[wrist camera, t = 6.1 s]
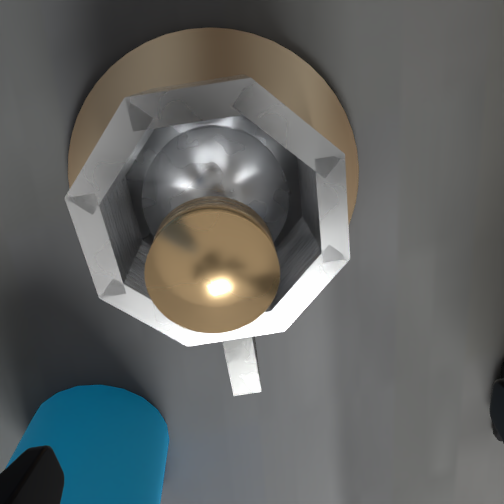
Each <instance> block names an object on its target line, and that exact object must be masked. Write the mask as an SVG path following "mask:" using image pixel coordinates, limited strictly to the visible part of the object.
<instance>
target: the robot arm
mask: <svg viewBox="0 0 504 504" xmlns="http://www.w3.org/2000/svg"><path fill="white" fill-rule="evenodd" d="M490 416H491V419H492V422H493V424H494V428H493V434H494V435H495V437H496V438H497V439H498V440H499V441H503V443H504V362H503V365H502V371H501V378H500V379H497V380H495V382H494V383H493V388H492V396H491V403H490ZM63 488H64V473H63V470H62V468H61V466H60V463H59V461H58V459H57V457H56V455H55V453H54V451H53V449H52V448H51V447H50V446H47V445H44V446H38V447H31V448H28V449H27V450H25V451H24V452H23V453H22V454H21V455H20V456H19V457H18V458H17V459H16V460H15V461H13V462H12V463H11V464H10V465H9V466H8V467H7V468H6V469H5V470H4V471H3V472H2V473H1V474H0V504H60V502H61V497H62V492H63Z"/></svg>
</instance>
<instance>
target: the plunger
mask: <svg viewBox="0 0 504 504" xmlns="http://www.w3.org/2000/svg"><path fill="white" fill-rule="evenodd" d="M142 207H143V212H144V216H145V219H146V222H147V225H148V227H149V229H150V231H151V232H152V234H153V235H154V237H155V238H154V240H153V243H152V245H151V248H150V250H149V253H148V255H147V259H146V263H145V271H144V275H145V284H146V288H147V291H148V294H149V296H150V298H151V300H152V302H153V303H154V305H155V306H156V307H157V309H158V310H159V311H160V312H161V313H162V314H163V315H164V316H165V317H166V318H168V319H169V320H170V321H172V322H173V323H175V324H177V325H179V326H181V327H183V328H185V329H188V330H191V331H195V332H200V333H225V332H230V331H234V330H237V329H240V328H242V327H244V326H246V325H248V324H250V323H252V322H253V321H255V320H256V319H257V318H259V317H260V316H261V315H262V314H263V313H264V312H265V311H266V310H267V309H268V307H269V306H270V305H271V303H272V301H273V300H274V298H275V295H276V293H277V290H278V287H279V282H280V266H279V261H278V257H277V253H276V250H275V246H274V241H275V240H276V239H277V237H278V236H279V234H280V232H281V231H282V229H283V226H284V224H285V221H286V218H287V214H288V209H289V190H288V185H287V181H286V178H285V175H284V172H283V170H282V168H281V166H280V164H279V162H278V161H277V159H276V158H275V156H274V155H273V153H272V152H271V151H270V150H269V149H268V148H267V146H266V145H264V144H263V143H262V142H261V141H260V140H259V139H257V138H256V137H254V136H253V135H251V134H249V133H247V132H245V131H243V130H240V129H237V128H234V127H229V126H224V125H206V126H200V127H196V128H192V129H190V130H187V131H184V132H183V133H181V134H179V135H177V136H175V137H174V138H173V139H171V140H170V141H169V142H168V143H167V144H166V145H165V146H164V147H163V148H162V149H161V150H160V151H159V153H158V154H157V155H156V157H155V158H154V159H153V161H152V163H151V164H150V166H149V168H148V170H147V173H146V175H145V178H144V183H143V187H142Z"/></svg>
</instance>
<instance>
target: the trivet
mask: <svg viewBox="0 0 504 504" xmlns="http://www.w3.org/2000/svg"><path fill="white" fill-rule="evenodd" d="M242 74H244V75H246V76H248V77H251V78H252V79H253V80H255V81H256V82H257V83H258V84H260V85H261V86H262V87H263V88H264V89H266V90H267V91H268V92H269V93H271V94H272V95H273V96H274V97H275V98H277V99H278V100H279V101H280V102H282V103H283V104H284V105H285V106H287V107H288V108H289V109H290V110H291V111H293V112H294V113H295V114H296V115H298V116H299V117H300V118H301V119H303V120H304V121H305V122H306V123H307V124H309V125H310V126H311V127H312V128H314V129H315V130H316V131H317V132H319V133H320V134H321V135H322V136H323V137H325V138H326V139H327V140H328V141H330V142H331V143H332V144H333V145H335V146H336V147H337V148H338V149H339V150H341V151H342V152H343V153H344V154H345V165H346V186H347V207H348V225H349V223H350V220H351V217H352V213H353V210H354V207H355V203H356V197H357V190H358V176H359V165H358V156H357V148H356V144H355V139H354V135H353V131H352V128H351V126H350V123H349V121H348V118H347V116H346V113H345V111H344V109H343V107H342V106H341V104H340V102H339V100H338V98H337V97H336V95H335V94H334V92H333V91H332V90H331V88H330V87H329V86H328V84H327V83H326V82H325V80H324V79H323V78H322V77H321V76H320V75H319V74H318V73H317V72H316V71H315V70H314V69H313V68H312V67H311V66H310V65H309V64H308V63H306V62H305V61H304V60H302V59H301V58H300V57H298V56H297V55H296V54H295V53H293V52H292V51H290V50H288V49H286V48H285V47H283V46H281V45H279V44H277V43H275V42H274V41H271V40H269V39H266V38H263V37H261V36H258V35H255V34H253V33H248V32H243V31H239V30H234V29H226V28H211V27H208V28H196V29H186V30H182V31H178V32H173V33H169V34H165V35H163V36H160V37H158V38H155V39H153V40H150V41H148V42H146V43H144V44H142V45H141V46H139V47H137V48H135V49H134V50H132V51H130V52H129V53H127V54H126V55H125V56H123V57H122V58H121V59H120V60H119V61H117V62H116V63H115V64H114V65H112V66H111V67H110V68H109V69H108V71H107V72H106V73H105V74H104V75H103V76H102V77H101V78H100V79H99V80H98V82H97V83H96V84H95V86H94V87H93V89H92V90H91V92H90V93H89V95H88V96H87V98H86V99H85V102H84V104H83V106H82V108H81V110H80V112H79V114H78V116H77V119H76V122H75V126H74V129H73V132H72V136H71V141H70V148H69V154H68V179H69V187H70V188H71V186H72V185H73V183H74V181H75V180H76V178H77V176H78V175H79V173H80V171H81V170H82V168H83V166H84V164H85V163H86V161H87V159H88V158H89V156H90V154H91V153H92V151H93V149H94V148H95V146H96V144H97V143H98V141H99V139H100V138H101V136H102V134H103V133H104V131H105V129H106V127H107V126H108V124H109V122H110V121H111V119H112V117H113V116H114V114H115V112H116V111H117V109H118V107H119V106H120V104H121V102H122V101H123V99H124V98H125V97H128V96H131V95H134V94H137V93H140V92H143V91H146V90H149V89H153V88H159V87H166V86H172V85H179V84H185V83H191V82H198V81H204V80H210V79H217V78H223V77H230V76H236V75H242Z"/></svg>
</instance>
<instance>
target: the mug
mask: <svg viewBox="0 0 504 504" xmlns="http://www.w3.org/2000/svg"><path fill="white" fill-rule="evenodd" d="M44 445H47V446H50V447H51V448H52V449H53V451H54V453H55V455H56V457H57V459H58V461H59V463H60V466H61V468H62V470H63V473H64V488H63V492H62V497H61V502H60V504H160V501H161V494H162V487H163V480H164V473H165V466H166V459H167V452H168V445H169V435H168V428H167V424H166V422H165V421H164V419H163V417H162V416H161V414H160V412H159V411H158V409H156V408H155V407H154V406H153V405H152V404H150V403H149V402H148V401H147V400H146V399H144V398H143V397H141V396H139V395H136V394H134V393H132V392H130V391H127V390H125V389H123V388H117V387H112V386H106V385H84V386H76V387H73V388H70V389H67V390H64V391H61V392H58V393H56V394H55V395H53V396H52V397H50V398H49V399H48V400H46V401H45V402H43V403H42V404H41V406H40V407H39V409H38V410H37V412H36V413H35V415H34V417H33V418H32V420H31V422H30V424H29V426H28V427H27V429H26V431H25V433H24V435H23V437H22V439H21V440H20V442H19V444H18V446H17V448H16V450H15V452H14V453H13V455H12V457H11V459H10V461H9V463H8V465H7V466H6V468H7V467H8V466H9V465H10V464H11V463H12V462H13V461H15V460H16V459H17V458H18V457H19V456H20V455H21V454H22V453H23V452H24V451H25V450H27V449H28V448H31V447H38V446H44ZM6 468H5V469H6Z"/></svg>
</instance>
